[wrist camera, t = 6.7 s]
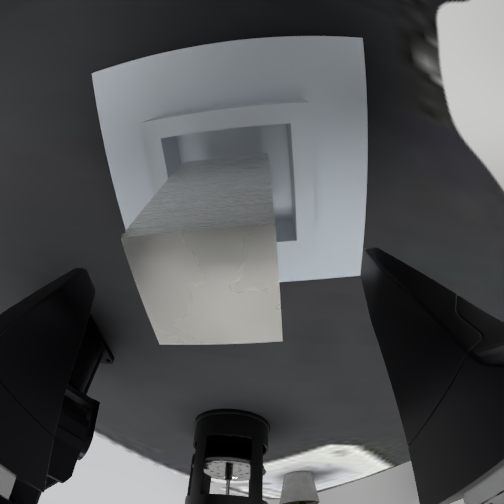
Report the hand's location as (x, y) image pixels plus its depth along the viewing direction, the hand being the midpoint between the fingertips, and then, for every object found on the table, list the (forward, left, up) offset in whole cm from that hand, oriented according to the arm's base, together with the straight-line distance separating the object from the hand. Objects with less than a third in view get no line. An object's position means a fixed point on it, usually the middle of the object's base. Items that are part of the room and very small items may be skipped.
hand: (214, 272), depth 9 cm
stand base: (0, 0, -11) cm, 11 cm away
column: (0, 0, -7) cm, 7 cm away
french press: (-31, +5, -11) cm, 33 cm away
